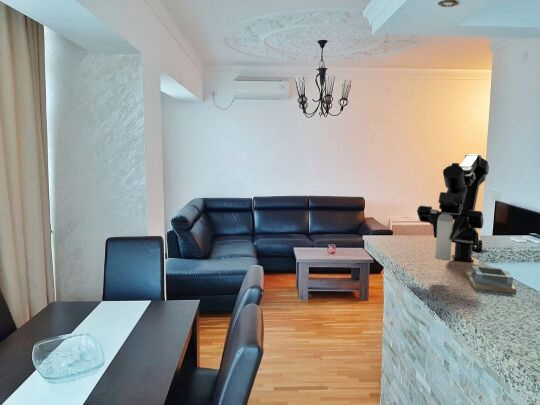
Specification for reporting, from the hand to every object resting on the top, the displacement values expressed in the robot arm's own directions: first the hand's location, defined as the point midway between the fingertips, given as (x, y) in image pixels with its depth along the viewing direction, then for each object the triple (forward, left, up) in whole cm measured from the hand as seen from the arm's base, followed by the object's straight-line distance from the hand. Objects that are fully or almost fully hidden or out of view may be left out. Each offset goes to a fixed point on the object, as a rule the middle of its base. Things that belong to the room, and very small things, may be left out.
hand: (442, 238), depth 121 cm
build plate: (-48, +17, -14) cm, 53 cm away
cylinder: (-1, 0, -7) cm, 7 cm away
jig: (-4, +14, -13) cm, 20 cm away
